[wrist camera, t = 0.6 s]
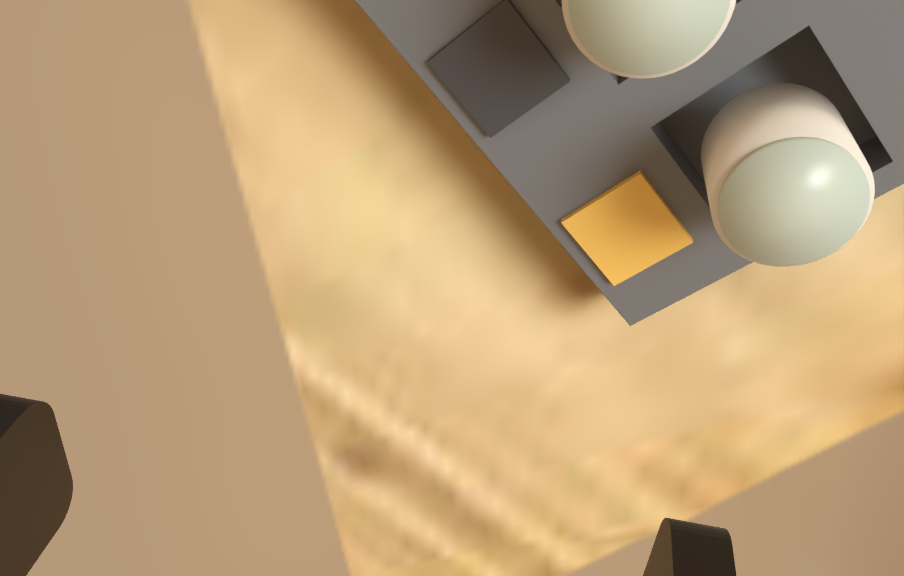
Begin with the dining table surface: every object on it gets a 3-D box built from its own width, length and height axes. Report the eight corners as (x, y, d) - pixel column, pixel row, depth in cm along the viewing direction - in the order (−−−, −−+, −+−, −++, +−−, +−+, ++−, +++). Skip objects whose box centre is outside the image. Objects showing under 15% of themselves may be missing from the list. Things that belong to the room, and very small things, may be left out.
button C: (802, 54, 27) (829, 103, 24) (871, 162, 29) (905, 223, 25) (674, 135, 29) (682, 190, 26) (744, 231, 31) (760, 295, 28)
